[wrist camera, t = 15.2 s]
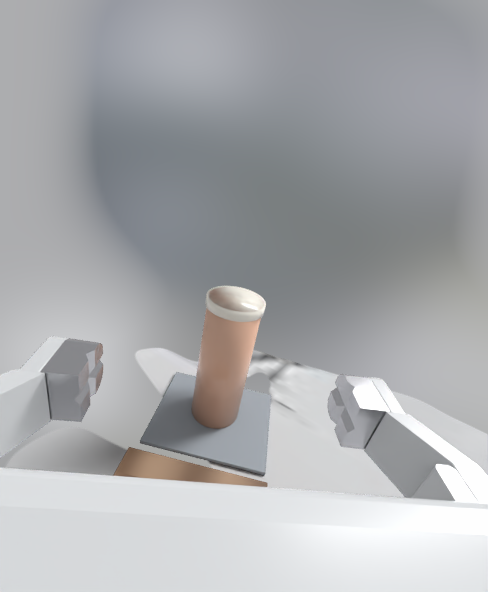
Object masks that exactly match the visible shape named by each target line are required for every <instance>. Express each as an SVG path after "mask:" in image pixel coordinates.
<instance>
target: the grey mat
mask: <svg viewBox="0 0 488 592" xmlns="http://www.w3.org/2000/svg"><path fill="white" fill-rule="evenodd" d="M195 381H196V377H195V376H191V375H187V374H183V373H179V372H176V374H175V376H174V378H173V380H172V382H171V384H170V386H169V387H168V389H167V391H166V393H165V395H164V397H163V399H162V401H161V402H160V404H159V406H158V408H157V410H156V412H155V414H154V416H153V418H152V419H151V421H150V423H149V425H148V427H147V429H146V431H145V432H144V435H143V436H142V438H141V440H140V443H142V444H145V445H149V446H153V447H157V448H161V449H165V450H169V451H173V452H176V453H181V454H184V455H188V456H192V457H196V458H200V459H204V460H208V461H211V462H215V463H219V464H223V465H227V466H231V467H235V468H239V469H242V470H246V471H250V472H254V473H258V474H262V475H265V471H266V458H267V444H268V431H269V418H270V405H271V395H269V394H264V393H260V392H256V391H252V390H248V389H244V391H243V395H242V399H241V403H240V407H239V412H238V416H237V418H236V420H235V421H234V423H232V424H231V425H230V426H228V427H225V428H220V429H213V428H209V427H206V426H203V425H201V424H200V423H199V422H197V421H196V419H195V418H194V417H193V414H192V410H191V408H192V401H193V394H194V388H195Z"/></svg>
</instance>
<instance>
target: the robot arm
mask: <svg viewBox="0 0 488 592" xmlns="http://www.w3.org/2000/svg"><path fill="white" fill-rule="evenodd" d="M102 354H103V346H102V344H101V343H96V342H90V341H83V340H76V339H70V338H69V339H67V338H61V337H54V336H52V337H49V338H47V339H46V341H45V342H44V343H43V344H42V345H41V346H40V347H39V348H38V350H37V351H36V352H35V353H34V354H33V355H32V356H31V357H30V358H29V359H28V361H27V362H26V363H25V364H24V365H23V366H22V367H21V368H20V370H15V369H13V370H11V371H8V372H6V373H4V374H1V375H0V458H1V457H3V456H4V455H5V454H7V453H8V452H9V451H11V450H12V449H13V448H15V447H16V446H18V445H19V444H20V443H22V442H23V441H24V440H26V439H27V438H28V437H30V436H31V435H33V434H34V433H35V432H37V431H38V430H39V429H41V428H42V427H43V426H45V425H46V424H48V423H49V422H50V421H51V420H64V421H79V422H81V421H82V419H83V417H84V415H85V413H86V411H87V409H88V407H89V406H90V397H91V396H92V395H94V394H96V392H97V390H98V388H99V386H100V382H101V379H102V374H103V364H102V363H101V361H100V358H101V356H102ZM335 383H336V386H337V388H336V389H334V390H333V391H331V393H330V396H329V398H328V413H329V416H330V418H331V419H332V420H333V421H334V422H335V423H336V424H337V425H336V427H335V429H334V430H335V432H336V435H337V438H338V440H339V443H340V446H341V447H349V448H357V449H365V450H364V451H365V452H366V453H367V454H368V456H369V457H370V458H371V459H372V460H373V461H374V462H375V463H376V465H377V466H378V467H379V468H380V469H381V470H382V471H383V473H384V474H385V475H386V476H387V477H388V478H389V479H390V480H391V482H392V483H393V484H394V485H395V486H396V487H397V488H398V489H399V491H400V492H401V493H402V494H403V495H404V496H405V497H406V498H405V497H392V496H378V495H365V494H352V493H338V492H325V491H311V490H298V489H285V488H271V487H258V486H244V485H231V484H217V483H204V482H190V481H177V480H164V479H150V478H137V477H124V476H110V475H97V474H83V473H70V472H56V471H43V470H29V469H16V468H2V467H0V592H488V476H487V475H486V474H485V472H484V471H483V470H482V469H481V467H480V466H478V465H477V464H476V463H474V462H473V461H472V460H470V459H469V458H468V457H466V456H465V455H463V454H462V453H461V452H459V451H458V450H457V449H455V448H454V447H453V446H451V445H450V444H449V443H447V442H446V441H445V440H443V439H442V438H441V437H439V436H438V435H437V434H435V433H434V432H432V431H431V430H430V429H428V428H427V427H426V426H424V425H423V424H422V423H420V422H419V421H418V420H416V419H415V418H414V417H412V416H411V415H410V414H405V413H404V411H403V410H402V408H401V407H400V405H399V403H398V402H397V400H396V399H395V397H394V396H393V394H392V393H391V391H390V389H389V388H388V386H387V385H386V383H385V382H384V381H383V380H382V379H381V378H372V377H360V376H352V375H344V374H340V375H339V376H338V377H337V379H336V382H335Z"/></svg>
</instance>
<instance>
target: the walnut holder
mask: <svg viewBox="0 0 488 592" xmlns="http://www.w3.org/2000/svg"><path fill="white" fill-rule="evenodd" d="M113 476H124V477H137V478H150V479H164V480H177V481H190V482H204V483H217V484H231V485H244V486H258V487H267V483H266V482H262V481H258V480H254V479H251V478H247V477H243V476H239V475H235V474H231V473H227V472H224V471H220V470H216V469H212V468H207V467H204V466H200V465H196V464H193V463H188V462H185V461H181V460H177V459H173V458H169V457H166V456H162V455H157V454H154V453H150V452H146V451H142V450H138V449H135V448H131V447H129V448H128V450H127V452H126V453H125V455H124V457H123V459H122V461H121V462H120V464H119V466H118V468H117V470H116V471H115V473H114V475H113Z"/></svg>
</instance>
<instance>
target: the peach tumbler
mask: <svg viewBox="0 0 488 592" xmlns="http://www.w3.org/2000/svg"><path fill="white" fill-rule="evenodd" d="M265 306H266V302H265V300H264V299H263V298H262V297H261V296H260V295H258V294H256V293H255V292H253V291H250V290H247V289H244V288H240V287H234V286H219V287H214V288H212V289H210V290H209V291H208V292H207V296H206V307H207V309H206V315H205V322H204V329H203V335H202V342H201V348H200V355H199V361H198V368H197V374H196V381H195V388H194V394H193V401H192V408H191V410H192V414H193V417H194V418H195V419H196V421H197V422H199V423H200V424H201V425H203V426H206V427H209V428H213V429H220V428H225V427H228V426H230V425H231V424H232V423H234V421H235V420H236V418H237V416H238V412H239V407H240V403H241V399H242V395H243V391H244V386H245V382H246V378H247V374H248V369H249V365H250V361H251V357H252V353H253V348H254V344H255V340H256V335H257V331H258V327H259V323H260V319H261V317H262V316H263V314H264V310H265Z"/></svg>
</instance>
